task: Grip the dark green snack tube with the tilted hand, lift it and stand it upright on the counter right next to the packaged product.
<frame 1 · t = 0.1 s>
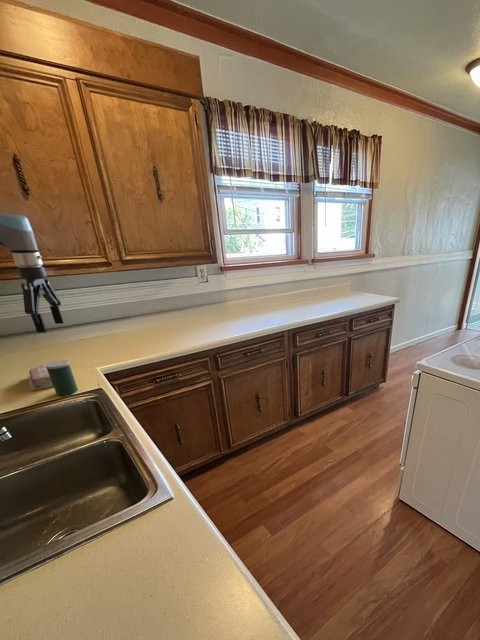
hand: (51, 327, 121), 24 cm above the worktop, tool pointing down, fingers open, 13 cm apart
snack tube: (67, 392, 126), on the worktop
packaged product: (44, 382, 135), on the worktop
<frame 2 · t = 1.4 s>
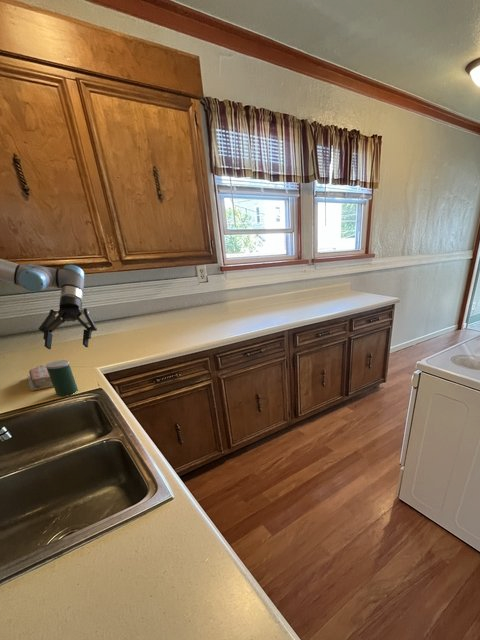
hand: (66, 346, 128), 15 cm above the worktop, tool tilted 45°, fingers open, 13 cm apart
nothing on the worktop moved.
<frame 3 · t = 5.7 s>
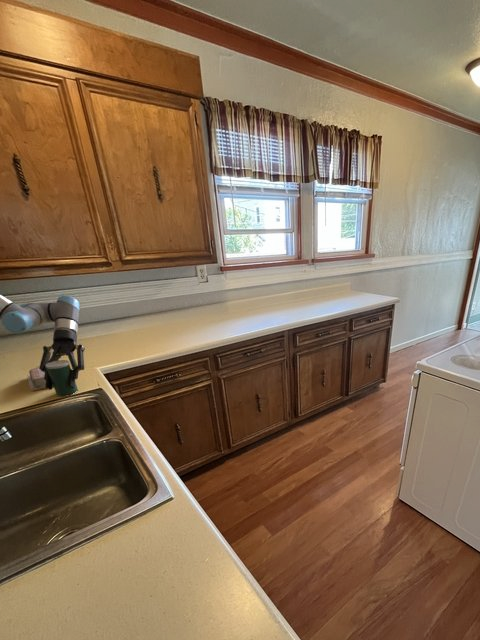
hand: (60, 387, 121), 4 cm above the worktop, tool tilted 45°, fingers closed on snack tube, 7 cm apart
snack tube: (67, 392, 126), on the worktop, touching gripper
everything else where it was.
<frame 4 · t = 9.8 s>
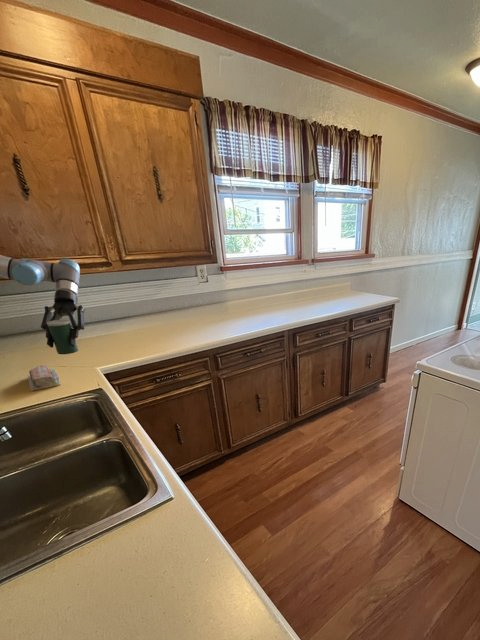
hand: (61, 345, 125), 16 cm above the worktop, tool tilted 45°, fingers closed on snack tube, 7 cm apart
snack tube: (68, 351, 130), point 13 cm above the worktop, touching gripper
everything else where it was.
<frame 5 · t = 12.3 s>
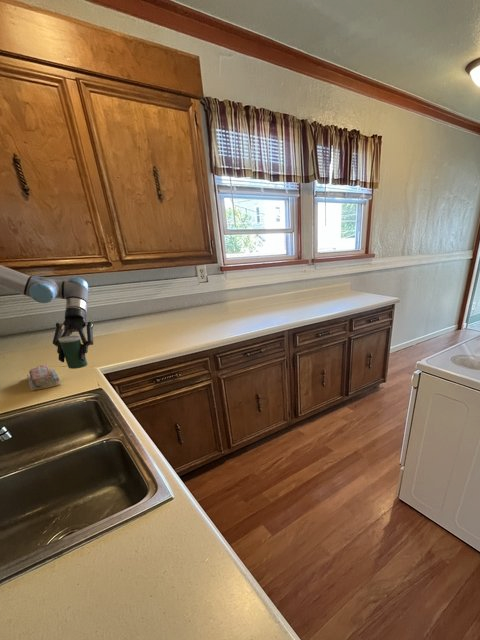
hand: (71, 360, 133), 9 cm above the worktop, tool tilted 45°, fingers closed on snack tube, 7 cm apart
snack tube: (78, 365, 137), point 5 cm above the worktop, touching gripper
everything else where it was.
when the fingers open (4 cm above the worktop, at t = 14.2 s): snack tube stays where it is, on the worktop.
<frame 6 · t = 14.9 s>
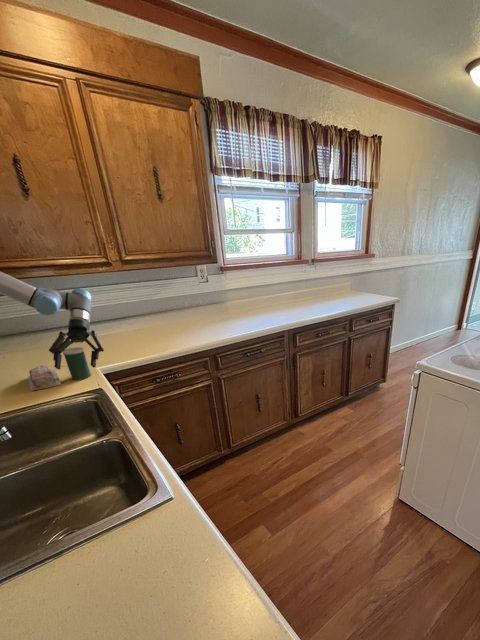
hand: (75, 367, 135), 5 cm above the worktop, tool tilted 45°, fingers open, 13 cm apart
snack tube: (81, 376, 140), on the worktop
everything else where it was.
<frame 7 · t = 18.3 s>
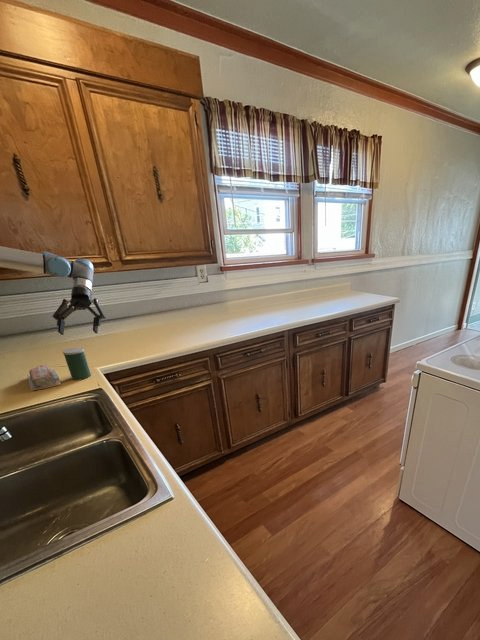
hand: (78, 332, 141), 17 cm above the worktop, tool tilted 45°, fingers open, 13 cm apart
nothing on the worktop moved.
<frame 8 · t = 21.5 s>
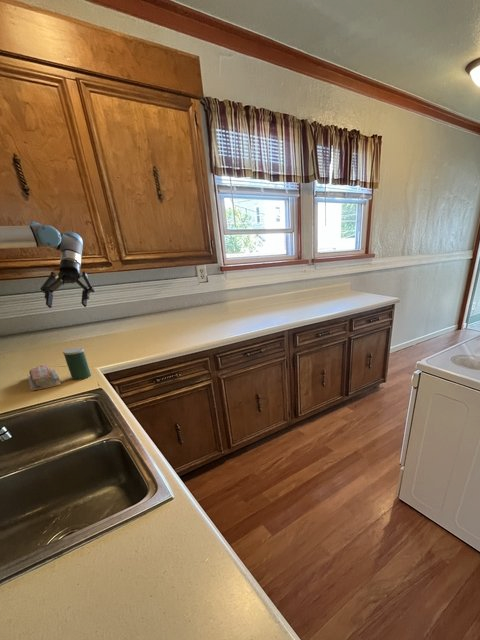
hand: (66, 305, 138), 28 cm above the worktop, tool tilted 45°, fingers open, 13 cm apart
nothing on the worktop moved.
at the end: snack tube 13.3 cm from the packaged product (horizontally); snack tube tilted 0°; packaged product moved 0.2 cm from its start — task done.
